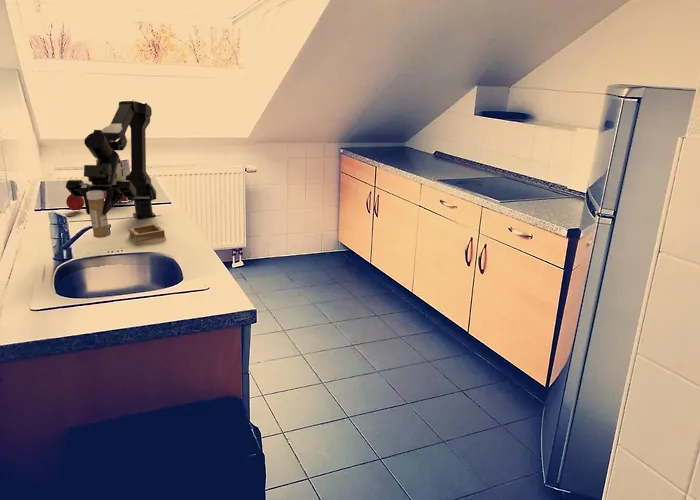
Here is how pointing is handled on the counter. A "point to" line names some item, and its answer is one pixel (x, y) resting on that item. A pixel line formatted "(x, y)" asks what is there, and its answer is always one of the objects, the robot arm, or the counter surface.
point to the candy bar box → (121, 174)
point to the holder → (146, 234)
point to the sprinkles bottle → (98, 213)
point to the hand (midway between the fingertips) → (95, 214)
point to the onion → (75, 202)
